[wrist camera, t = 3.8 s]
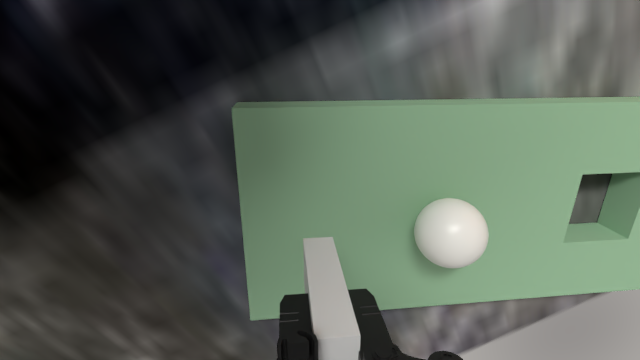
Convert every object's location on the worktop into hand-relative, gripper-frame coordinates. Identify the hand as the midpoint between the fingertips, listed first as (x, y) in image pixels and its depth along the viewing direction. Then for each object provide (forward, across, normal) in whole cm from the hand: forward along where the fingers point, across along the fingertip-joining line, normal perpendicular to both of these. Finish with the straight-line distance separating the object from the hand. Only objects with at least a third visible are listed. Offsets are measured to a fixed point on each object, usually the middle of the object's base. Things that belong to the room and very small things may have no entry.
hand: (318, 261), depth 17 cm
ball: (+2, +8, 0) cm, 8 cm away
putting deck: (+6, +11, 0) cm, 12 cm away
